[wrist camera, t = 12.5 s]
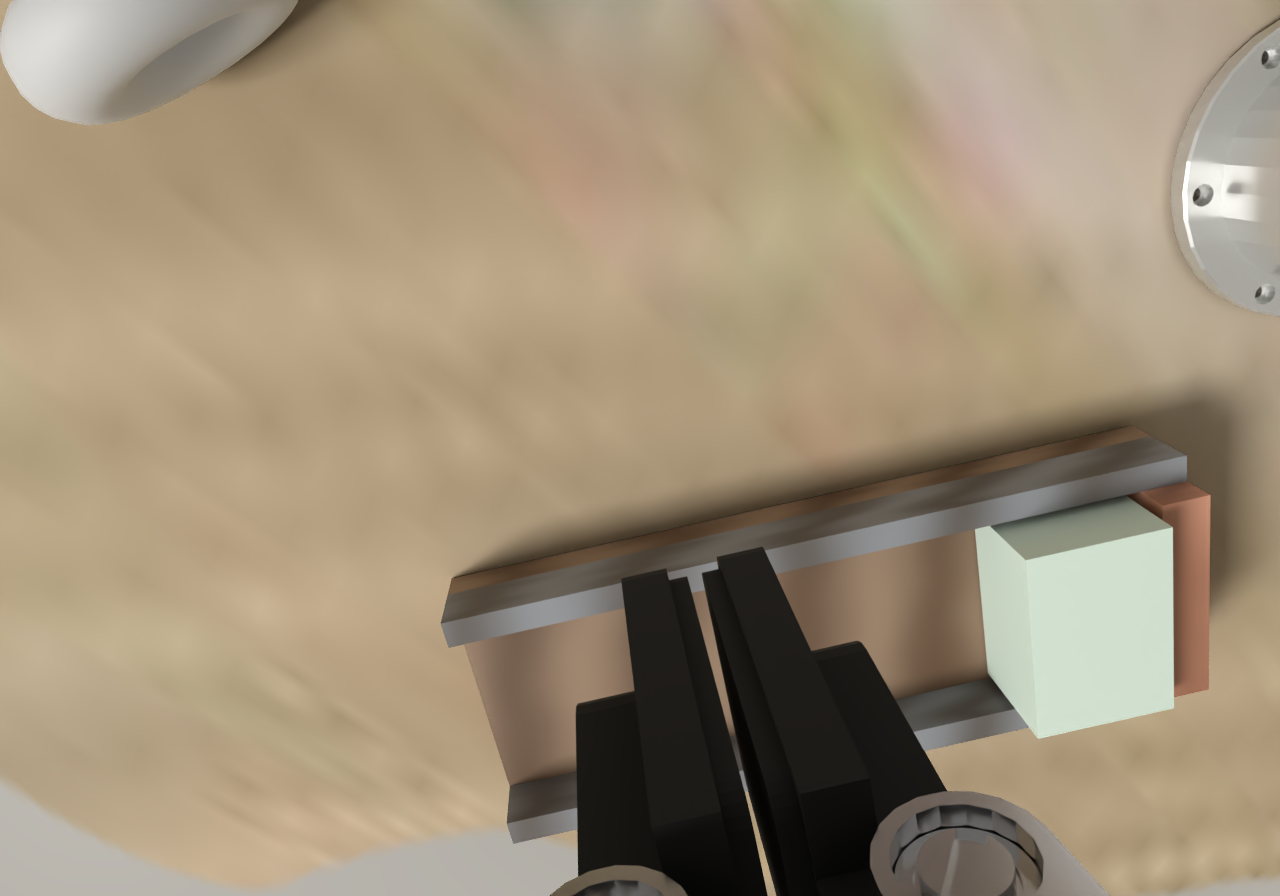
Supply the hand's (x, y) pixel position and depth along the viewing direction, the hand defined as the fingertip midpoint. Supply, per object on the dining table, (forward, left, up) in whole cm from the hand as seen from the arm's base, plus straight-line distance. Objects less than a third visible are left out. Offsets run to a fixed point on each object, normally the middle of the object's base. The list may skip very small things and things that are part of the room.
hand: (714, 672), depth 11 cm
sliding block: (-17, +18, -28) cm, 37 cm away
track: (-6, +18, -29) cm, 35 cm away
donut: (+12, -12, -29) cm, 34 cm away
